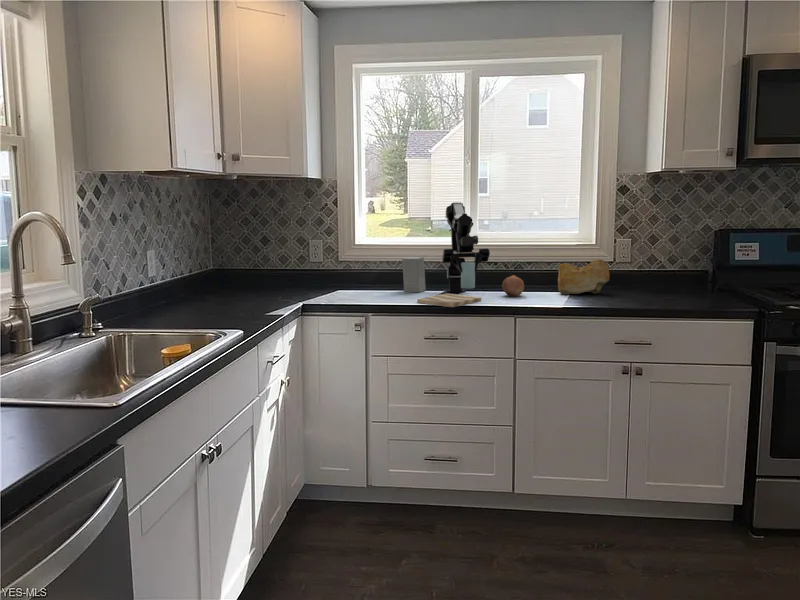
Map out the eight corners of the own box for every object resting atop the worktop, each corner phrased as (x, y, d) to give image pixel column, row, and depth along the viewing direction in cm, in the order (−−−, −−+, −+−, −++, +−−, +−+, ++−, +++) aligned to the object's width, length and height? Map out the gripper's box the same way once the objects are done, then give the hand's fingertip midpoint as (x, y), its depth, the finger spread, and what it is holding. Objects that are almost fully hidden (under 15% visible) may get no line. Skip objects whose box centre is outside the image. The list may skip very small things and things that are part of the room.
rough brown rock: (597, 291, 309) (596, 258, 307) (613, 293, 292) (612, 259, 291) (548, 294, 306) (547, 261, 305) (562, 296, 289) (561, 262, 288)
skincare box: (425, 291, 306) (425, 256, 304) (417, 293, 300) (417, 258, 298) (410, 289, 311) (410, 256, 308) (402, 291, 305) (401, 257, 302)
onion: (512, 301, 295) (515, 280, 298) (527, 298, 287) (530, 276, 290) (496, 295, 290) (499, 273, 293) (510, 291, 283) (513, 269, 285)
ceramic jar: (468, 286, 273) (468, 261, 272) (477, 287, 269) (477, 263, 267) (458, 287, 270) (458, 262, 268) (466, 288, 266) (467, 263, 264)
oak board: (446, 296, 290) (446, 293, 289) (481, 300, 278) (481, 297, 278) (417, 302, 275) (417, 299, 274) (452, 307, 263) (452, 303, 263)
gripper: (443, 229, 269) (447, 259, 260) (489, 228, 270) (494, 258, 261) (440, 246, 278) (444, 276, 269) (484, 246, 279) (490, 275, 270)
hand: (468, 271), depth 267 cm, fingers closed on ceramic jar, 6 cm apart
